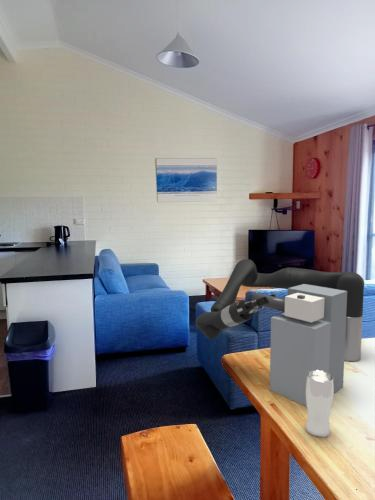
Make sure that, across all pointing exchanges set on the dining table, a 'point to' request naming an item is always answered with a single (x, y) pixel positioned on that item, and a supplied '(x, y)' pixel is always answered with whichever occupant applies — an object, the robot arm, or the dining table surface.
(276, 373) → the stepped stand
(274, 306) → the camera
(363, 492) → the dining table surface
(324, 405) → the beer glass
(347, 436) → the dining table surface
